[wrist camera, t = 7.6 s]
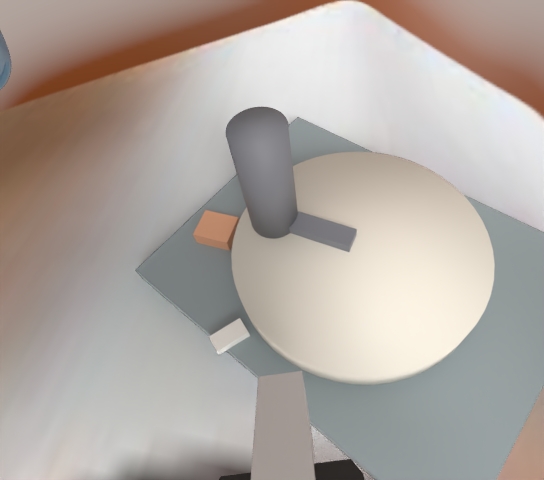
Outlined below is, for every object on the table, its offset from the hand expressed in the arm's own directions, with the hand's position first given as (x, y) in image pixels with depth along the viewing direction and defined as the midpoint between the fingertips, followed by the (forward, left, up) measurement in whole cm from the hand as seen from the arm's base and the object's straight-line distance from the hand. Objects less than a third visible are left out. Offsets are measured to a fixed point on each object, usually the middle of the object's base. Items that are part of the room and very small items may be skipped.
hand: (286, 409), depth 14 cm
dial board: (-3, +9, -8) cm, 13 cm away
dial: (-3, +9, -7) cm, 12 cm away
